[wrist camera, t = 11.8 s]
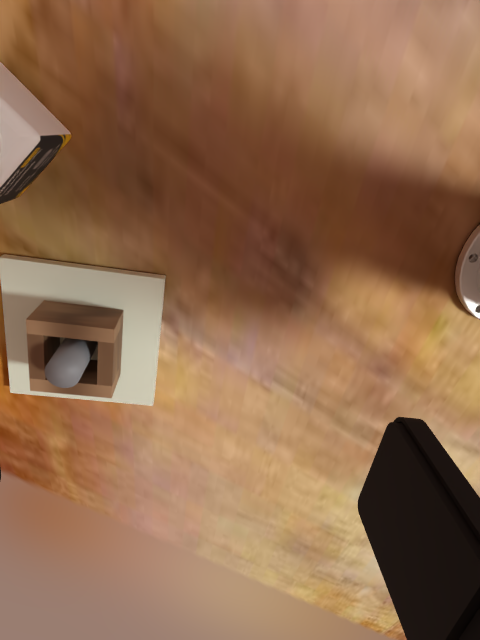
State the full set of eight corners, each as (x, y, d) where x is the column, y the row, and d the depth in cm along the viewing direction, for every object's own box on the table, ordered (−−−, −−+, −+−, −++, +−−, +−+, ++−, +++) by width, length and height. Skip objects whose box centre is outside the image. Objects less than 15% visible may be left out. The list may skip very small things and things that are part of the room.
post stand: (165, 275, 37) (156, 305, 31) (154, 399, 43) (144, 446, 37) (4, 254, 36) (-41, 281, 29) (14, 386, 41) (-21, 433, 35)
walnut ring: (123, 309, 38) (114, 329, 34) (120, 374, 40) (111, 398, 37) (43, 300, 37) (25, 319, 33) (46, 366, 40) (30, 390, 36)
